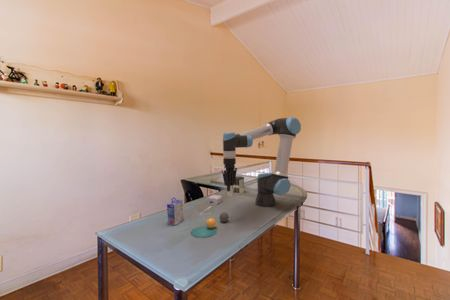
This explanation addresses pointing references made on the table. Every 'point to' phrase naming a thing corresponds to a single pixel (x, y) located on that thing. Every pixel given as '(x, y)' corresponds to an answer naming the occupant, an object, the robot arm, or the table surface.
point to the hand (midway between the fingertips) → (229, 196)
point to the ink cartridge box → (175, 211)
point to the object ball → (211, 223)
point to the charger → (214, 199)
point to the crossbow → (205, 211)
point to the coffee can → (238, 185)
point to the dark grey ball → (224, 217)
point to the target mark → (203, 232)
